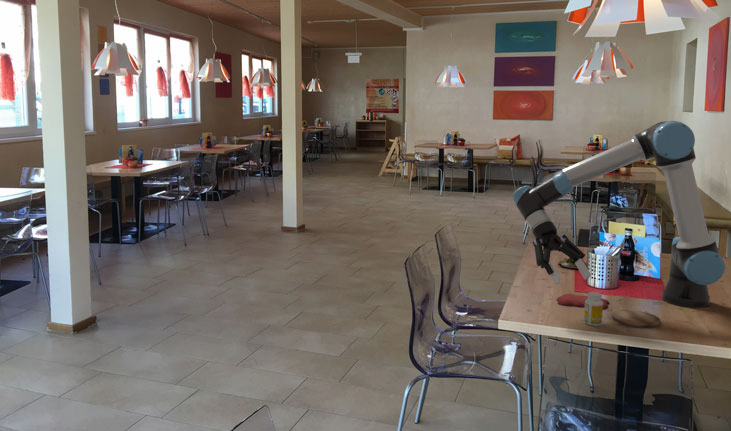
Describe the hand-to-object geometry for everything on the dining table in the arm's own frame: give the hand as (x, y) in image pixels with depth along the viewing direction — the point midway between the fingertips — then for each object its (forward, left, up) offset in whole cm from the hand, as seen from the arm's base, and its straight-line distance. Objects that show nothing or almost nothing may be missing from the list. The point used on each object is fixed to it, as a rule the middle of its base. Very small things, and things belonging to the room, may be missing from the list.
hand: (573, 280), depth 199 cm
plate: (-18, +9, -12) cm, 23 cm away
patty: (-13, -12, -13) cm, 22 cm away
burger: (-41, -60, -13) cm, 74 cm away
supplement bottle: (-2, +8, -12) cm, 15 cm away
